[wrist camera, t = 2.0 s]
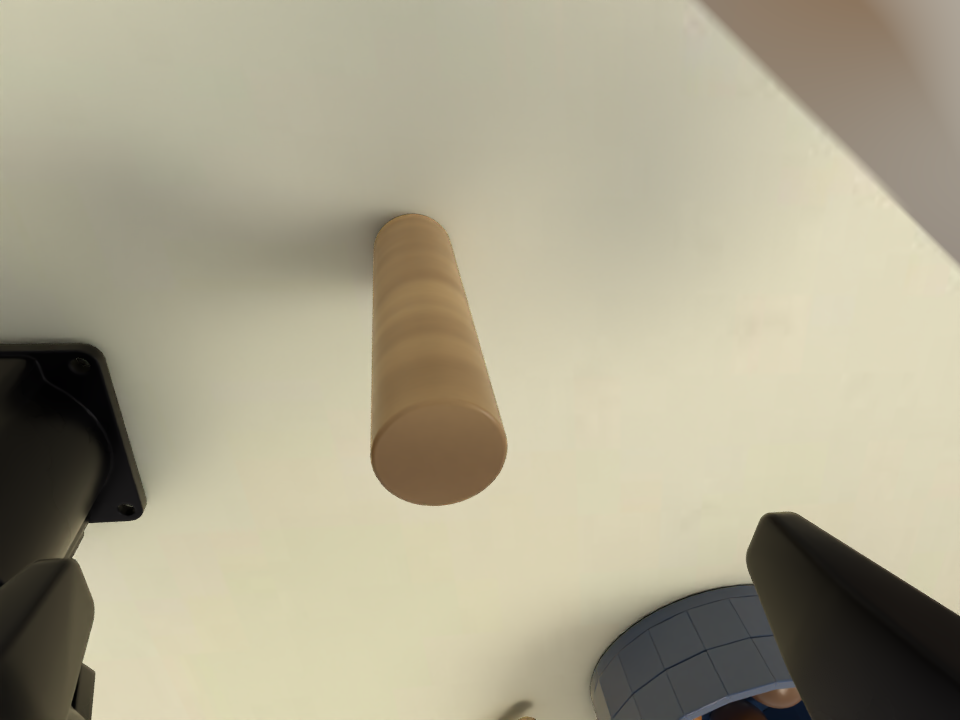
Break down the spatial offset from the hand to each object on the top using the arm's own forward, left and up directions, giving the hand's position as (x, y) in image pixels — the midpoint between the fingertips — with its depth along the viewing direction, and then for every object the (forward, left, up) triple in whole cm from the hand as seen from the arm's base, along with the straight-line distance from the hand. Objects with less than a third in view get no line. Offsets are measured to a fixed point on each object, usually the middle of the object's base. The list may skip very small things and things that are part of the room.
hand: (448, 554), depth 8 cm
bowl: (+22, +15, -11) cm, 29 cm away
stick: (0, 0, -11) cm, 11 cm away
